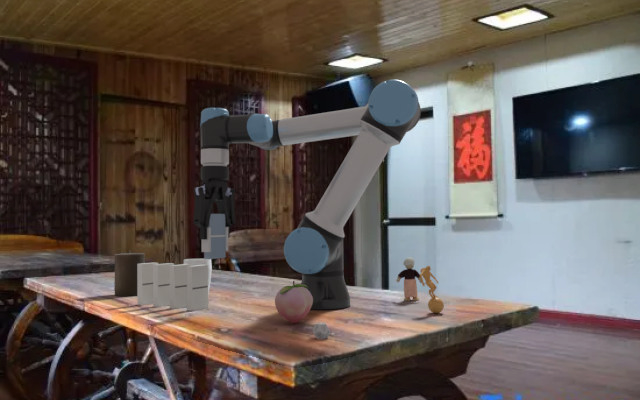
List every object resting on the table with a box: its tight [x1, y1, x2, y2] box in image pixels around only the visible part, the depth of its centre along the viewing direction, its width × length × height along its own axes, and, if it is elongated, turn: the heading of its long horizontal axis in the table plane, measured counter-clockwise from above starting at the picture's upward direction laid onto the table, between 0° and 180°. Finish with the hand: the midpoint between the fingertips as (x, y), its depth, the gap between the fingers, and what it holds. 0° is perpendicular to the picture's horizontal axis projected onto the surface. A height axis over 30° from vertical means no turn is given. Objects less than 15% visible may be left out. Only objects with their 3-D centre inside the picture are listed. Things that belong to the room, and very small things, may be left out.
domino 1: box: [136, 261, 159, 306], centre depth 170 cm, size 2×6×12 cm, turn 146°
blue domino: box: [203, 213, 227, 260], centre depth 155 cm, size 2×6×12 cm, turn 146°
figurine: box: [419, 265, 445, 314], centre depth 147 cm, size 8×6×12 cm
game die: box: [311, 322, 331, 340], centre depth 117 cm, size 4×4×3 cm
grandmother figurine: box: [396, 256, 422, 302], centre depth 170 cm, size 8×4×13 cm, turn 92°
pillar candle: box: [113, 249, 146, 297], centre depth 192 cm, size 10×10×15 cm
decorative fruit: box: [274, 280, 313, 324], centre depth 134 cm, size 9×8×10 cm
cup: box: [183, 257, 213, 296], centre depth 184 cm, size 9×9×12 cm
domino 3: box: [169, 263, 191, 310], centre depth 162 cm, size 2×6×12 cm, turn 146°
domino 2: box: [152, 262, 175, 308], centre depth 166 cm, size 2×6×12 cm, turn 146°
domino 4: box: [186, 265, 209, 312], centre depth 158 cm, size 2×6×12 cm, turn 146°
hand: (215, 251), depth 155 cm, fingers closed on blue domino, 6 cm apart
